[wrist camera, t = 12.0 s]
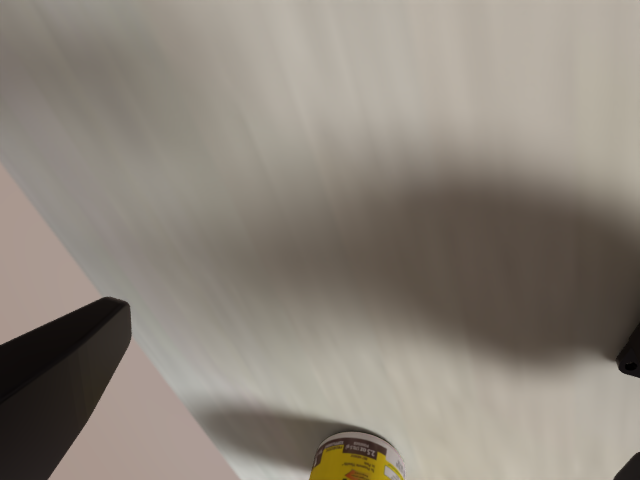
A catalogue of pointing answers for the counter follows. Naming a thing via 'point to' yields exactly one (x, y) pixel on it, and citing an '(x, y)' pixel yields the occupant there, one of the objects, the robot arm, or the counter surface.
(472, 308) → the counter surface
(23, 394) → the robot arm
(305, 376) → the counter surface
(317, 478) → the supplement bottle
